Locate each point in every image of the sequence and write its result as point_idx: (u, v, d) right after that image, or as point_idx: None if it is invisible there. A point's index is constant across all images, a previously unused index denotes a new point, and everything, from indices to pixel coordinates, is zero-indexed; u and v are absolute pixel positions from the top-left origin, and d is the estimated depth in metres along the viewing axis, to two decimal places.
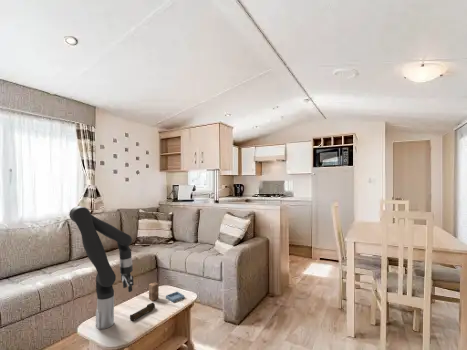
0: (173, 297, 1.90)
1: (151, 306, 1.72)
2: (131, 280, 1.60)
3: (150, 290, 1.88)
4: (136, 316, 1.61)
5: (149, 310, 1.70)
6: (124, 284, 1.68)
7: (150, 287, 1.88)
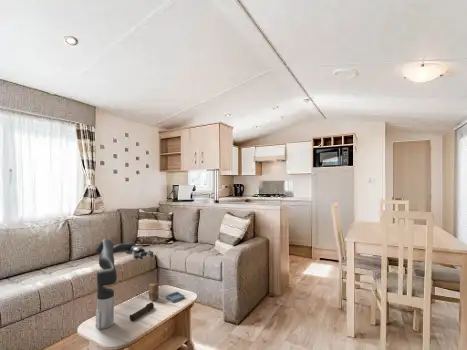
0: (173, 297, 1.90)
1: (150, 306, 1.72)
2: None
3: (150, 290, 1.88)
4: (136, 316, 1.61)
5: (148, 310, 1.71)
6: None
7: (150, 287, 1.88)
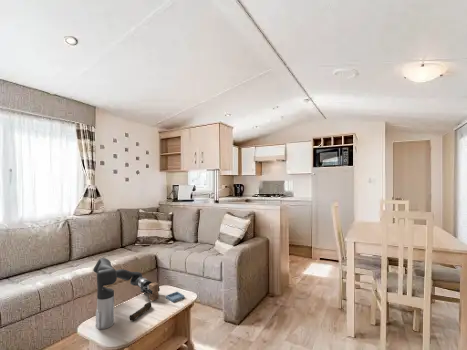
0: (173, 297, 1.90)
1: (148, 305, 1.73)
2: None
3: None
4: (136, 316, 1.61)
5: (147, 309, 1.71)
6: None
7: (150, 287, 1.88)
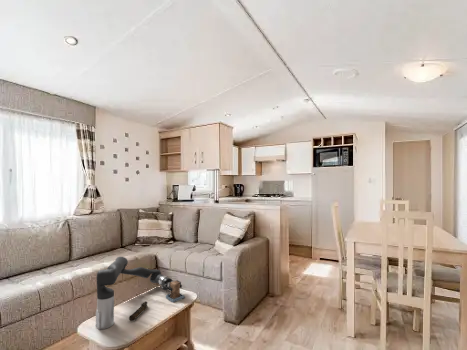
0: None
1: (145, 305, 1.74)
2: None
3: None
4: (136, 316, 1.62)
5: (144, 309, 1.72)
6: None
7: (171, 286, 1.89)
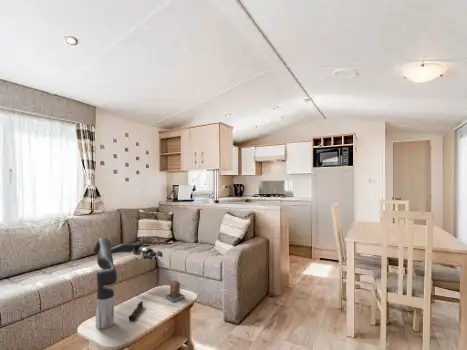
0: None
1: (142, 304, 1.74)
2: None
3: (171, 288, 1.89)
4: (135, 315, 1.62)
5: (141, 309, 1.73)
6: None
7: (171, 286, 1.89)
